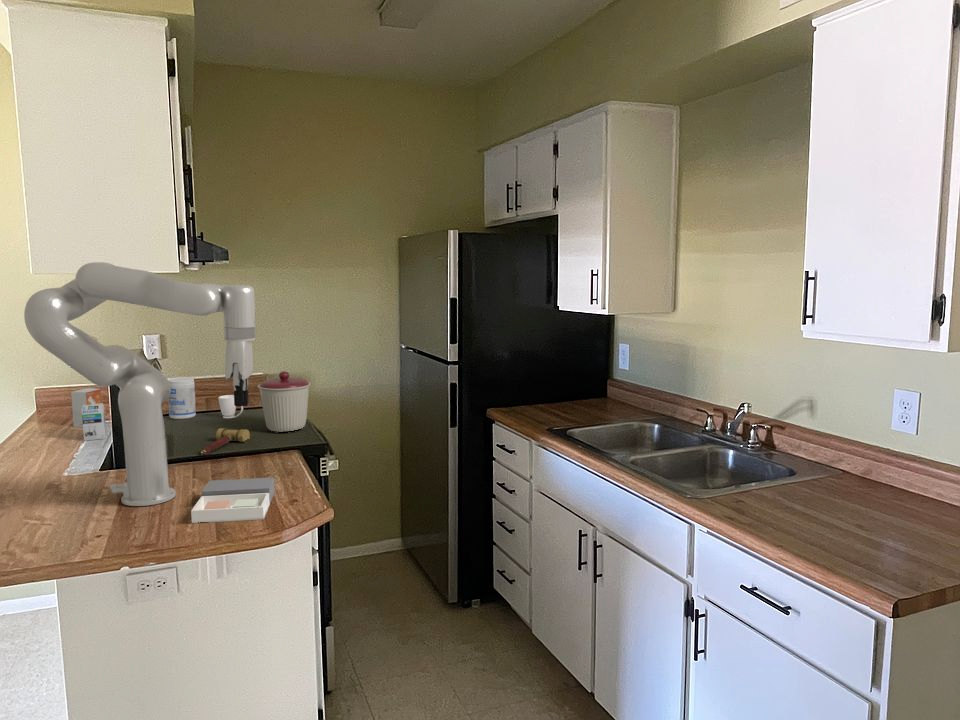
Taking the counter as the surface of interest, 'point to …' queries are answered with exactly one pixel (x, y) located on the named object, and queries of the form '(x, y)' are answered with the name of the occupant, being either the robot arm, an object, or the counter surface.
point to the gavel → (227, 438)
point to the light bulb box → (93, 421)
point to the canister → (285, 402)
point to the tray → (230, 513)
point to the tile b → (246, 503)
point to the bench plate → (240, 487)
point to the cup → (228, 406)
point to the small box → (83, 402)
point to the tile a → (217, 505)
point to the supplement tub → (182, 398)
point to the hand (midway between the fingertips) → (241, 405)
